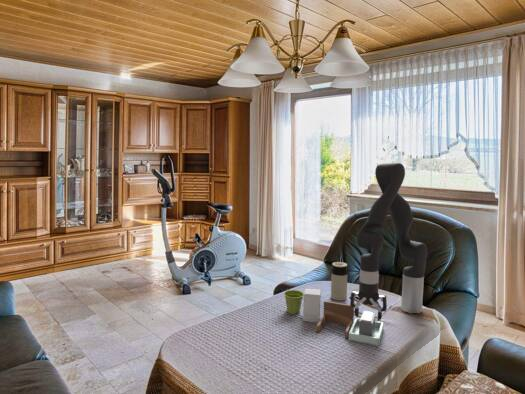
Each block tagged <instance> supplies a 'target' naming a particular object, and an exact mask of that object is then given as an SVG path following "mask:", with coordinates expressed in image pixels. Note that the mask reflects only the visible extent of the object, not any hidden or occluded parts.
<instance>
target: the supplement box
mask: <svg viewBox="0 0 525 394" xmlns="http://www.w3.org/2000/svg"><path fill="white" fill-rule="evenodd" d="M303 293H304V296H303V312H302V313H303V315H302V316H303V317H302V321H303V322H311V323H318V322H319V321H320V319H321V318H320V317H321V299H322V298H321V296H322V295H321V293H322V292H321V289H320V288H319V289H316V288H304V292H303Z"/></svg>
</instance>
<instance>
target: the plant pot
mask: <svg viewBox="0 0 525 394" xmlns="http://www.w3.org/2000/svg"><path fill="white" fill-rule="evenodd" d="M283 295H284V298H285V305H286V311H287V313H289V314H299V313H301V307H302V302H303V299H304V292H303V291H300V290H297V289H296V290H295V289H290V290H289V289H287V291H284V292H283Z"/></svg>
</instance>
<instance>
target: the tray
mask: <svg viewBox="0 0 525 394" xmlns="http://www.w3.org/2000/svg"><path fill="white" fill-rule="evenodd" d="M354 318H355V319H354V321H353V325H352V327H351V330H350V332H349V337H348V342H354V343H358V344H359V343H360V344H364V345H369V346H375V347H379V346H380V343H381V340H382V335H383V332H384V322H383V321H378V320H375V330H374V334H373V337H371V336H366V335H361V334H359V321H360V318H361V317H360V318H359V317H354Z"/></svg>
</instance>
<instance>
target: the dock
mask: <svg viewBox="0 0 525 394" xmlns="http://www.w3.org/2000/svg"><path fill="white" fill-rule="evenodd" d="M354 316H355V308H354V307H351V306H350V304H346V303H341V302H334V301H327V300H324V301H323V315H322V316H321V318H320V319H319V322H317V324H316V325H315V326H316V328H315V332H316V334H319V333H320V331H321V330H322V328H323V326H324V325H325V324H326V322H327V323H331V324H332V323H334V324H338V325H345V326H346V329H345V332H344V333H345V334H344V339H346V340H349V332H350V330H351V327H352V325H353V323H354V321H355V319H354V318H355V317H354Z"/></svg>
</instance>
